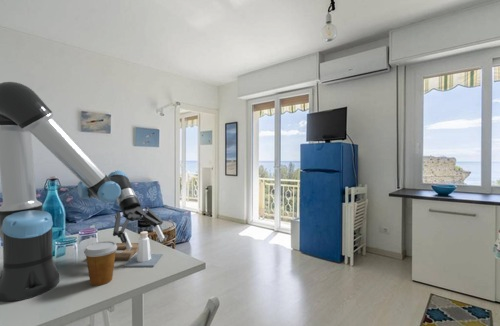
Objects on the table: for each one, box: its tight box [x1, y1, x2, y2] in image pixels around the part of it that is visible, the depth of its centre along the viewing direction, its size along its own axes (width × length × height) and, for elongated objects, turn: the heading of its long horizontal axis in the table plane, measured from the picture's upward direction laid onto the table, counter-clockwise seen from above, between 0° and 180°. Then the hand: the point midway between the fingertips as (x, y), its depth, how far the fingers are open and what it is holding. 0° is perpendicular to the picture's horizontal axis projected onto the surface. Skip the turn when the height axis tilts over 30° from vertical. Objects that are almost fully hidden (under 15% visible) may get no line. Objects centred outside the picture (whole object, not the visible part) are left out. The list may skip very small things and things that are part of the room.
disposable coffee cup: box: [83, 240, 117, 287], centre depth 84 cm, size 10×10×12 cm
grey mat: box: [123, 253, 163, 268], centre depth 100 cm, size 11×11×1 cm
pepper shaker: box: [136, 230, 152, 262], centre depth 100 cm, size 5×5×11 cm
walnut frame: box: [115, 242, 139, 261], centre depth 109 cm, size 16×16×2 cm
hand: (147, 244), depth 99 cm, fingers open, 13 cm apart
